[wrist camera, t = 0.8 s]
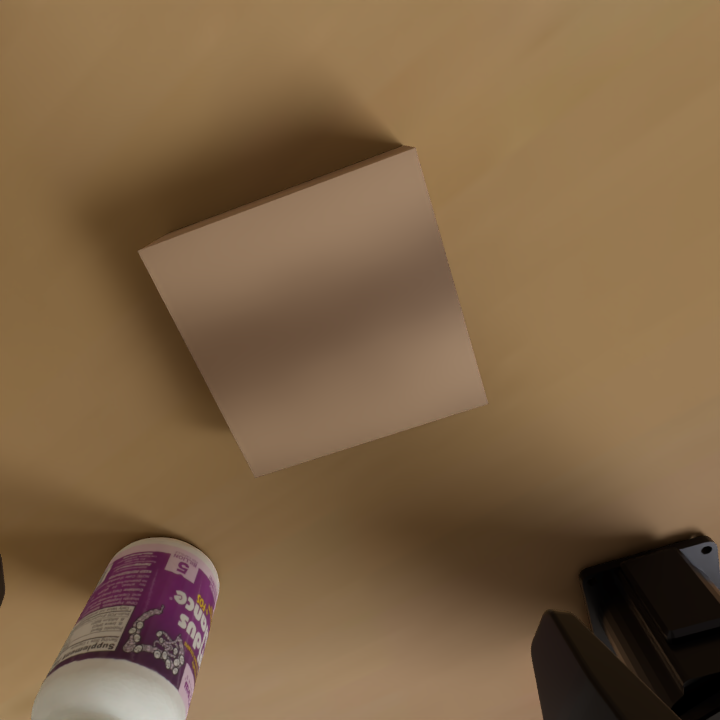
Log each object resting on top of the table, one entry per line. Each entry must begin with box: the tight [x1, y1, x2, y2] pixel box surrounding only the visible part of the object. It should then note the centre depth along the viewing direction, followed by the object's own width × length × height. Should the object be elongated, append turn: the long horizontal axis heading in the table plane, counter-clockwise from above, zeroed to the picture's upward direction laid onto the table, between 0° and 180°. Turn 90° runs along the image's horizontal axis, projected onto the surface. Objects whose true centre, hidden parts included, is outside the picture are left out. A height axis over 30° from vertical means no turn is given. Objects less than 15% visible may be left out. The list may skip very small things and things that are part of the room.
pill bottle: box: [31, 537, 219, 720], centre depth 21 cm, size 5×5×10 cm
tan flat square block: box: [138, 146, 488, 478], centre depth 19 cm, size 9×9×3 cm
